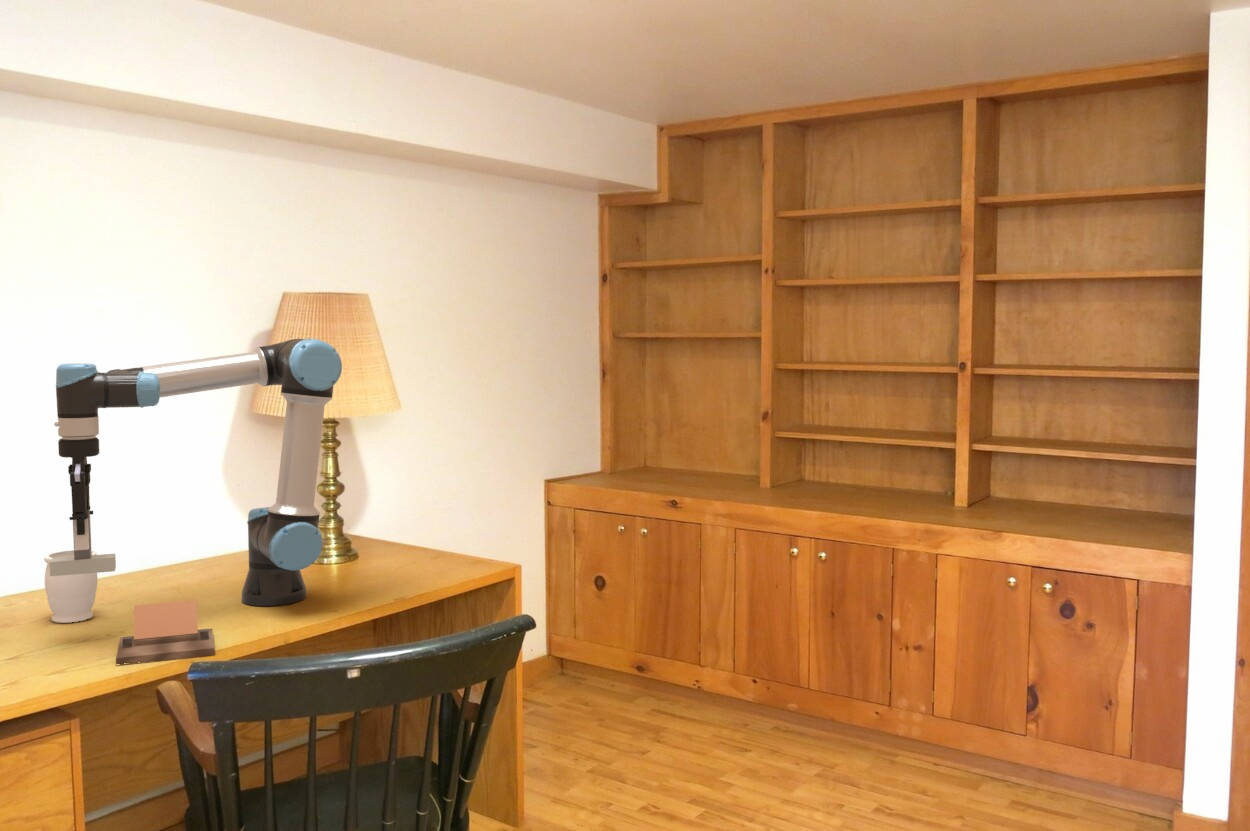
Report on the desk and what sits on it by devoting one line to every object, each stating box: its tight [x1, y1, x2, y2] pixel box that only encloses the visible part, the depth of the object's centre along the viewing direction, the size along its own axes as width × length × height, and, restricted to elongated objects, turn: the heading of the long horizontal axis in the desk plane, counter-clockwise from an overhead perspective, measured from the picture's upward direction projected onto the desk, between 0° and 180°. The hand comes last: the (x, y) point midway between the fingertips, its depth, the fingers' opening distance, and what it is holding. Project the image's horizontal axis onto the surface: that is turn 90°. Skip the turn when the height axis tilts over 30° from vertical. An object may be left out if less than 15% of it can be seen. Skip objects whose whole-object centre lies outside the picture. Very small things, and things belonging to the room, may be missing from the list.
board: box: [115, 628, 215, 665], centre depth 211 cm, size 18×15×3 cm
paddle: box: [50, 508, 117, 576], centre depth 214 cm, size 12×4×13 cm, turn 114°
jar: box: [43, 549, 98, 624], centre depth 232 cm, size 11×10×15 cm
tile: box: [133, 599, 199, 641], centre depth 212 cm, size 12×7×1 cm
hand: (82, 547), depth 214 cm, fingers closed on paddle, 3 cm apart
